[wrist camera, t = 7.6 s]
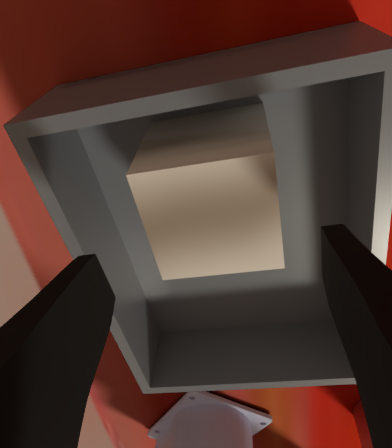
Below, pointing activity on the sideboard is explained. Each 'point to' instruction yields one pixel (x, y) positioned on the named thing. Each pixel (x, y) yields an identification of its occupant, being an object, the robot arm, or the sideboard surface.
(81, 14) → the sideboard surface
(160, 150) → the cube
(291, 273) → the tote
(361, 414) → the capsule
